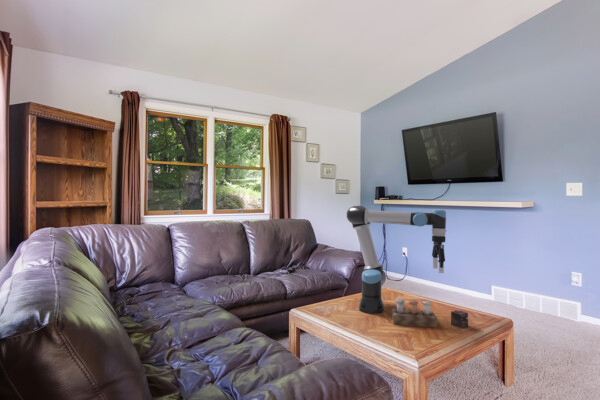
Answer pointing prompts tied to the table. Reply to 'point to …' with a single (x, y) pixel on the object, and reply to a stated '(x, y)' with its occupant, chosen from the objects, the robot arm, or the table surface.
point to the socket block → (414, 318)
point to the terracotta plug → (413, 306)
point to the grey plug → (400, 306)
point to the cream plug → (426, 307)
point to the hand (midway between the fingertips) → (437, 270)
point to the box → (459, 319)
